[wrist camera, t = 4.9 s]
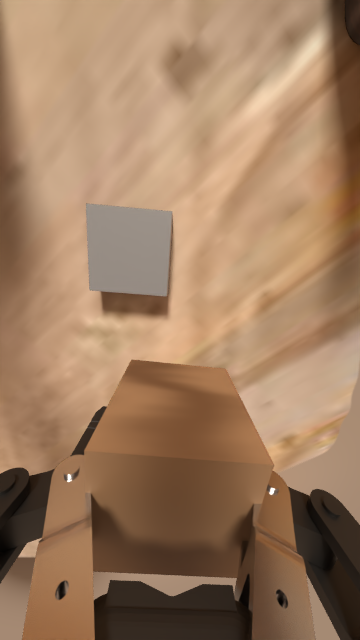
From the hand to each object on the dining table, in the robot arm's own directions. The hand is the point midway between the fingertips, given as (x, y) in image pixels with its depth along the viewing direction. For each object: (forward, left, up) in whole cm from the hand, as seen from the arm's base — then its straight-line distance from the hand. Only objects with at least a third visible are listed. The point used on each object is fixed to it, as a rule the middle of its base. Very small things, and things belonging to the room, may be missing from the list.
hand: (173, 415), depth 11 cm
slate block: (-6, +10, -15) cm, 20 cm away
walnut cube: (0, 0, -1) cm, 1 cm away
